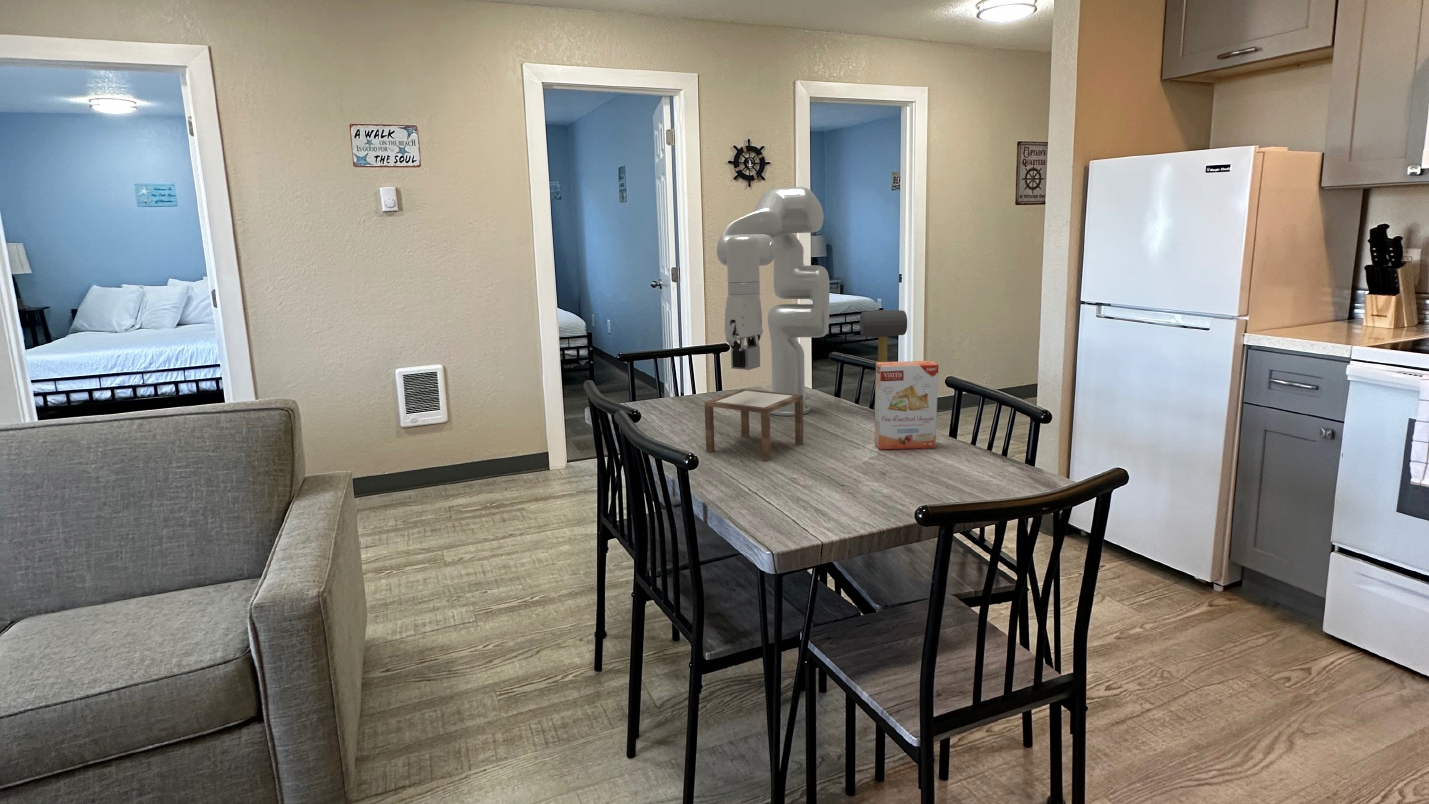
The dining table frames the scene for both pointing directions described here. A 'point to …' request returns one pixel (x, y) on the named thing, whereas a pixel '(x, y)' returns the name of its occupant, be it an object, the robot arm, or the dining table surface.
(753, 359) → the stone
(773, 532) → the dining table surface
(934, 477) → the dining table surface
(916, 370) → the cracker box
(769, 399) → the trapdoor
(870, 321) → the rubber mallet
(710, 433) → the frame
